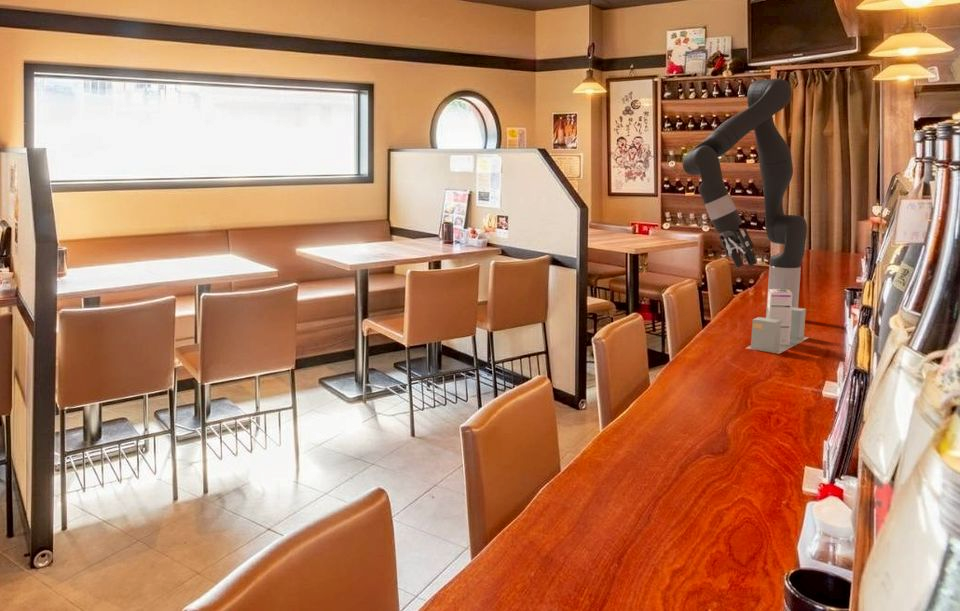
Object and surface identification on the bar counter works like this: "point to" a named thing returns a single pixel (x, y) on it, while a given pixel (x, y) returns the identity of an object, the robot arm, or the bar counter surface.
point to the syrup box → (781, 311)
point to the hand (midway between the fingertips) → (746, 265)
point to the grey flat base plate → (785, 347)
